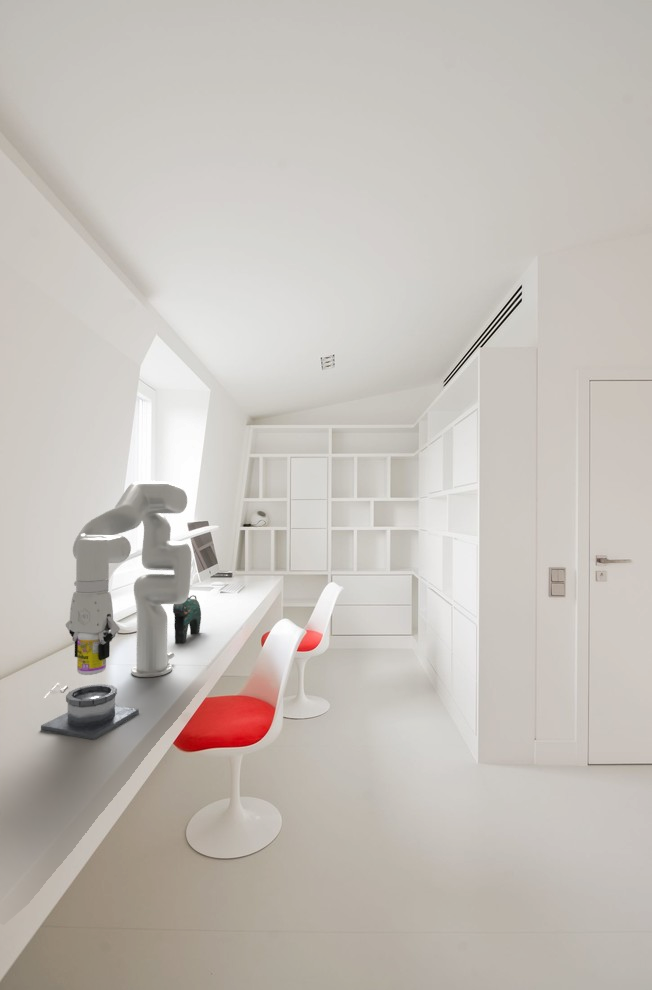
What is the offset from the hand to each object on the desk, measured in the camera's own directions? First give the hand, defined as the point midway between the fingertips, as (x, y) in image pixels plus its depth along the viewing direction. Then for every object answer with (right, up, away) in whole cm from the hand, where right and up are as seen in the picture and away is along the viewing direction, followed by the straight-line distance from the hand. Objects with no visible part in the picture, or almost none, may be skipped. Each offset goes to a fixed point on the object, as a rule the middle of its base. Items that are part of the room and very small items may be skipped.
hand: (92, 656), depth 134 cm
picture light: (-20, -17, +22) cm, 34 cm away
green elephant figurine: (+3, -17, +81) cm, 83 cm away
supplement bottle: (0, -4, 0) cm, 4 cm away
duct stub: (0, -16, 0) cm, 16 cm away
